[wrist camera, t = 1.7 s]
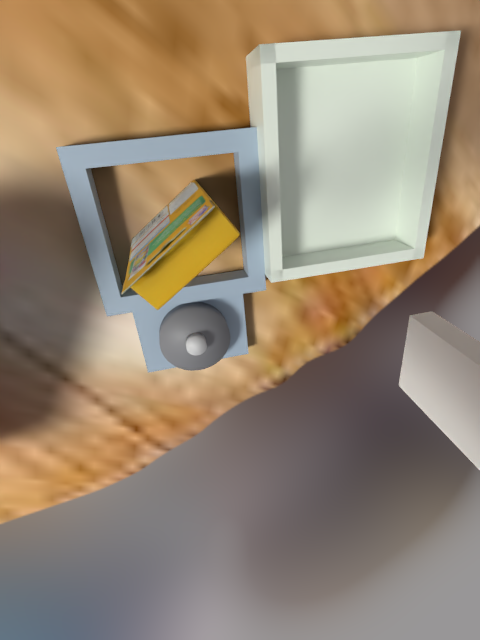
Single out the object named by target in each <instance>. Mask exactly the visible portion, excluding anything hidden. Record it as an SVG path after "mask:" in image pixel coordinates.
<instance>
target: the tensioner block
mask: <svg viewBox="0 0 480 640" xmlns="http://www.w3.org/2000/svg"><path fill="white" fill-rule="evenodd" d="M56 149H57V152H58V155H59V159H60V162H61V165H62V169H63V172H64V175H65V179H66V182H67V185H68V189H69V192H70V195H71V198H72V202H73V205H74V208H75V212H76V215H77V218H78V222H79V225H80V228H81V232H82V235H83V238H84V242H85V245H86V248H87V251H88V255H89V258H90V261H91V265H92V268H93V271H94V275H95V278H96V281H97V285H98V288H99V291H100V294H101V298H102V301H103V304H104V308H105V311H106V314H107V316H112V315H118V314H124V313H130V312H133V316H134V319H135V323H136V327H137V331H138V335H139V339H140V342H141V346H142V350H143V354H144V358H145V362H146V365H147V369H148V372H154V371H159V370H164V369H169V368H175V367H178V368H181V369H184V370H201V369H205V368H208V367H210V366H212V365H214V364H216V363H217V362H218V361H220V360H221V359H222V358H228V357H233V356H238V355H244V354H248V343H247V332H246V321H245V310H244V300H243V294H245V293H251V292H257V291H263V290H266V281H265V263H264V246H263V228H262V211H261V193H260V176H259V158H258V141H257V127H251V128H241V129H231V130H221V131H211V132H201V133H191V134H181V135H171V136H161V137H152V138H142V139H132V140H122V141H112V142H102V143H92V144H82V145H72V146H63V147H56ZM233 152H234V162H235V173H236V185H237V196H238V208H239V219H240V231H241V242H242V254H243V265H244V270H238V271H232V272H225V273H219V274H212V275H206V276H200V277H194V278H193V279H192V280H191V281H190V282H189V283H188V284H187V285H186V286H185V287H183V288H182V289H181V290H180V291H179V292H178V293H177V294H176V295H175V296H174V297H173V298H171V299H170V300H169V301H168V302H167V303H166V304H165V305H163V306H162V307H161V308H160V309H159V310H156V309H155V308H154V307H153V306H152V305H151V304H149V303H148V302H147V301H146V300H145V299H143V298H142V297H141V296H140V295H139V294H137V293H136V292H135V291H134V290H133V289H131V288H129V289H128V290H127V291H126V292H125V293H124V294H121V293H122V289H123V287H122V284H121V280H120V276H119V272H118V269H117V265H116V261H115V257H114V254H113V250H112V246H111V242H110V239H109V235H108V231H107V227H106V224H105V220H104V216H103V212H102V209H101V205H100V201H99V197H98V194H97V190H96V186H95V182H94V179H93V175H92V171H91V168H97V167H106V166H115V165H124V164H133V163H142V162H151V161H160V160H169V159H178V158H187V157H197V156H206V155H215V154H224V153H233Z"/></svg>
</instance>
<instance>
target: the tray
mask: <svg viewBox="0 0 480 640" xmlns="http://www.w3.org/2000/svg"><path fill="white" fill-rule="evenodd" d="M460 34H461V31H447V32H432V33H417V34H403V35H388V36H374V37H359V38H345V39H330V40H316V41H301V42H287V43H272V44H260V45H258V46H257V47H256V48H255V49H254V50H253V51H252V52H251V53H249V54H248V55H247V56H246V65H247V81H248V96H249V112H250V127H257V141H258V158H259V176H260V193H261V211H262V228H263V246H264V263H265V275H266V276H267V278H268V279H269V280H270V282H271V283H273V282H279V281H285V280H291V279H297V278H304V277H310V276H316V275H322V274H328V273H334V272H340V271H347V270H353V269H359V268H365V267H371V266H377V265H383V264H390V263H396V262H402V261H408V260H414V259H420V258H423V257H424V251H425V245H426V239H427V233H428V227H429V221H430V215H431V209H432V203H433V197H434V191H435V185H436V179H437V173H438V167H439V161H440V155H441V149H442V143H443V137H444V131H445V125H446V119H447V113H448V106H449V100H450V94H451V88H452V82H453V76H454V70H455V64H456V58H457V52H458V46H459V40H460Z"/></svg>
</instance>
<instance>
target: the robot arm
mask: <svg viewBox="0 0 480 640" xmlns="http://www.w3.org/2000/svg"><path fill="white" fill-rule="evenodd" d="M399 386H400V387H401V388H402V389H403V391H404V392H405V393H406V394H407V395H408V396H409V397H410V398H411V399H412V400H413V401H414V402H415V403H416V404H417V405H418V406H419V407H420V408H421V409H422V410H423V411H424V412H425V414H426V415H428V417H429V418H430V419H431V420H432V421H433V422H434V423H435V424H436V425H437V426H438V427H439V428H440V429H441V430H442V431H443V432H444V433H445V434H446V435H447V436H448V438H449V439H450V440H451V441H453V443H454V444H455V445H456V446H457V447H458V448H459V449H460V450H461V451H462V452H463V453H464V454H465V455H466V456H467V457H468V458H469V460H470V461H472V462H473V464H474V465H475V466H476V467H477V468H478V469H479V470H480V342H479V341H477V340H476V339H474V338H472V337H471V336H469V335H468V334H466V333H465V332H463V331H461V330H460V329H459V328H457V327H455V326H454V325H452V324H451V323H449V322H448V321H446V320H444V319H443V318H441V317H440V316H438V315H437V314H435V313H434V312H427V313H421V314H416V315H410V318H409V325H408V331H407V337H406V343H405V349H404V356H403V362H402V369H401V375H400V382H399Z"/></svg>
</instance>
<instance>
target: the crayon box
mask: <svg viewBox="0 0 480 640" xmlns="http://www.w3.org/2000/svg"><path fill="white" fill-rule="evenodd" d="M239 235H240V232H239V231H238V230H237V228H236V227H235V226H234V225H233V224H232V223H231V221H230V220H229V219H228V218H227V217H226V216H225V214H224V213H223V212H222V211H221V210H220V208H219V207H218V206H217V205H216V203H215V202H214V201H213V200H212V199H211V197H210V196H209V195H208V194H207V193H206V192H205V190H204V189H203V188H202V187H201V186H200V185H199V183H198V182H197V181H196V180H193V181H192V182H191V183H190V184H189V185H188V186H187V187H186V188H185V189H184V190H183V191H182V192H181V193H180V194H179V195H177V196H176V197H175V198H174V200H172V201H171V202H170V203H169V204H168V205H167V206H166V207H165V208H164V209H163V210H162V211H161V212H160V213H159V214H158V215H157V216H156V217H154V218H153V219H152V220H151V221H150V222H149V223H148V224H147V225H146V226H145V227H144V228H143V229H142V230H141V231H140V232H139V233H138V234H137V235H136V236H135V237H134V238H133V239H132V244H131V250H130V256H129V261H128V267H127V272H126V278H125V281H124V284H123V289H122V293H121V294H124V293H125V292H126V291H127V290H128V289H129V288H131V289H133V290H134V291H135V292H136V293H137V294H139V295H140V296H141V297H142V298H143V299H145V300H146V301H147V302H148V303H149V304H151V305H152V306H153V307H154V308H155V309H156V310H159V309H160V308H161V307H162V306H163V305H165V304H166V303H167V302H168V301H169V300H170V299H171V298H173V297H174V296H175V295H176V294H177V293H178V292H179V291H180V290H181V289H182V288H183V287H185V286H186V285H187V284H188V283H189V282H190V281H191V280H192V279H193V278H194V277H196V276H197V275H198V274H199V273H200V272H201V271H202V270H203V269H204V268H205V267H206V266H208V265H209V264H210V263H211V262H212V261H213V260H214V259H215V258H216V257H218V256H219V255H220V254H221V253H222V252H223V251H224V250H225V249H226V248H227V247H228V246H229V245H231V243H232V242H234V241H235V240H236V239H237V238H238V237H239Z"/></svg>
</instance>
